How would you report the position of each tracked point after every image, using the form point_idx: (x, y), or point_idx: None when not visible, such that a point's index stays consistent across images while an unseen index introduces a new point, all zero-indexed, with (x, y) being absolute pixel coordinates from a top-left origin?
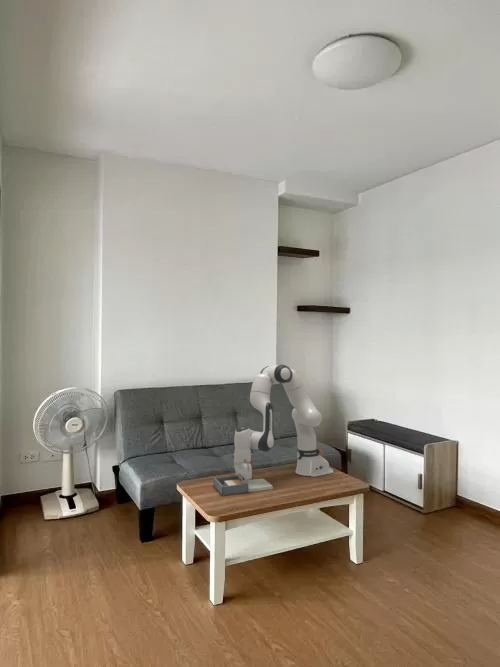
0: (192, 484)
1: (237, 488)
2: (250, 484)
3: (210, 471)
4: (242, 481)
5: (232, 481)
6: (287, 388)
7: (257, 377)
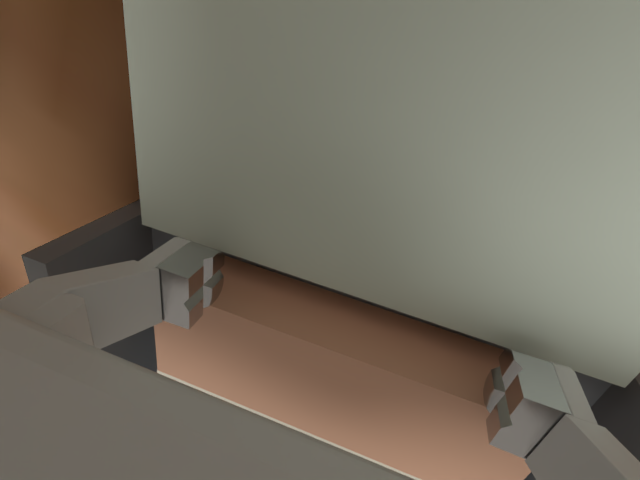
0: None
1: None
2: (415, 182)
3: None
4: (174, 194)
5: (224, 400)
6: None
7: None
